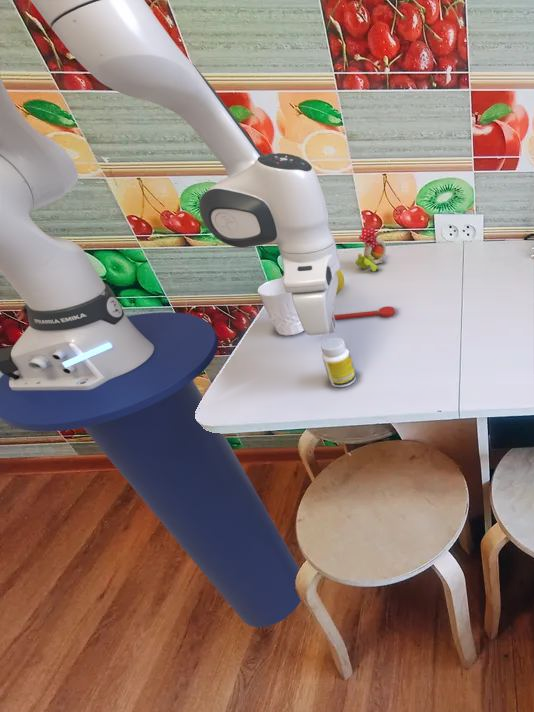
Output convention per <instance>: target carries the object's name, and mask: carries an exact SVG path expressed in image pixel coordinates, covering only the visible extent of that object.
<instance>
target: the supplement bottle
mask: <svg viewBox="0 0 534 712" xmlns="http://www.w3.org/2000/svg"><path fill="white" fill-rule="evenodd" d="M320 348H321V352H322V355H321V358H322V362H323V365H324V368H325V370H326V374H327V377H328V379H329V383H330V385H331V386H333V387H334V388H345V387H349V386H350V385H352V384H354V382H355V381H356V379H357V376H356V372H355V371H356V370H355V367H354V364H353V360H352V358H351V357H352V356H351V354H350V350H349V349H348V348H346V343H345V341H344V340H343V338H341V337H330V338H327V339H325V340H324V341H323V342H321V344H320Z"/></svg>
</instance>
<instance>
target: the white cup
mask: <svg viewBox="0 0 534 712" xmlns="http://www.w3.org/2000/svg"><path fill="white" fill-rule="evenodd" d="M257 293H258V295H259V298H260V300H261V302H262V304H263V307H264V309H265V311H266V313H267V315H268V317H269V319H270V321H271V323H272V324H273V327H274V330H275V331H276V333H278V334H279V335H281V336H295V335H298V334H300V333H302V332H305V331H304V329H303V327H302V325H301V322H300V320H299V317H298V315H297V312H296V309H295V307H294V304H293V300H292V293H287V292H286V290H285V287H284V283H283V277H281V278H276V279H272V280H271V279H270V280H267V281H266V282H263V283H262V284H261V285H260V286H259V287H258V288H257Z"/></svg>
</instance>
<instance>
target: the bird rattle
mask: <svg viewBox="0 0 534 712" xmlns="http://www.w3.org/2000/svg"><path fill="white" fill-rule="evenodd" d="M358 239H359V241H360V242H362V243H364V245H365V246H364V250H363V254H362V253H358V255H357V256H358V258H357V259H356V261H355V263H354V264H355V265H356V266H358V267H361V268H362V269H363V270H367V269H368V268H370V270H371V271H372V272H376V271H379V270H380V269H379V267H378V266H377V265H378V264H382V263H383V260H384V258H385V256H386V252H387V245H386V243H385V241H384V240H383V239H382V238H380V237H379V233H376V228H374V227H370V228H367V227H361V234H360V235H359V236H358Z"/></svg>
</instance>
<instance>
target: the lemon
mask: <svg viewBox="0 0 534 712" xmlns="http://www.w3.org/2000/svg"><path fill="white" fill-rule="evenodd" d="M337 275H338V287H337V293H336V295H337V294H338V293H340V292H341V291H342V290H343V288H344V287H345V277H344V274H343V272H342V271H341V269H339V270H338V271H337Z"/></svg>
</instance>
